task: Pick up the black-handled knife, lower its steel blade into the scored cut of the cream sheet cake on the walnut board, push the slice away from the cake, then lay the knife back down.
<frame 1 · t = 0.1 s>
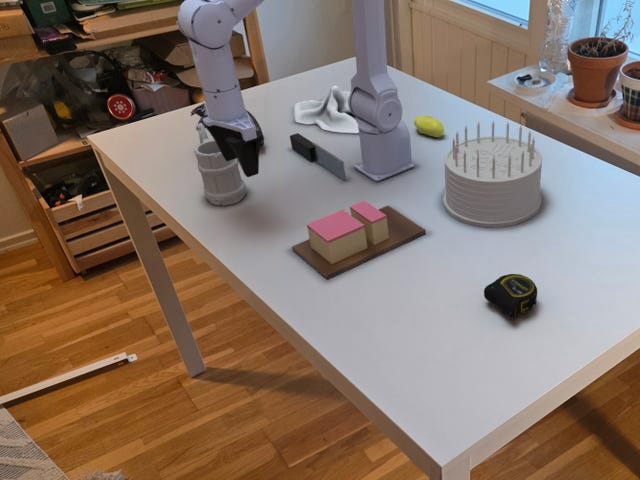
hand: (241, 166, 110), 10 cm above the table, tool pointing down, fingers open, 7 cm apart
decorative flower: (236, 150, 138), on the table
knife: (305, 154, 135), on the table
cloth: (339, 115, 149), on the table
cake slice: (370, 233, 111), point 1 cm above the table, touching board
tape measure: (510, 309, 97), on the table
lemon: (429, 135, 141), on the table
mug: (223, 192, 125), on the table
cake: (339, 247, 108), resting on board
board: (359, 242, 111), on the table
cake 2: (492, 202, 120), on the table
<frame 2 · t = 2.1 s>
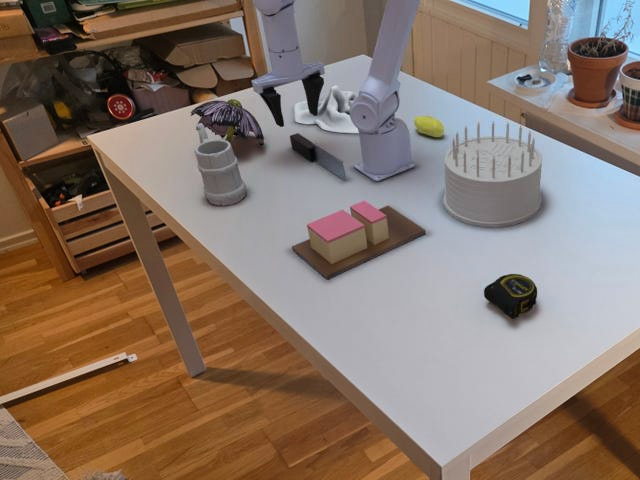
hand: (297, 119, 129), 8 cm above the table, tool pointing down, fingers open, 7 cm apart
nothing on the table moved.
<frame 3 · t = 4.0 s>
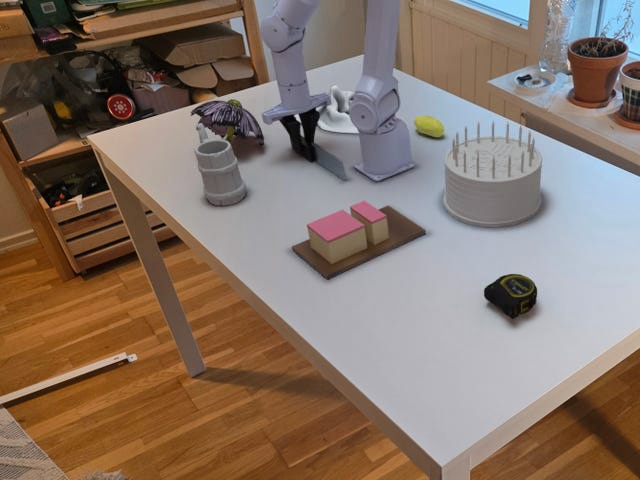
hand: (304, 147, 134), 1 cm above the table, tool pointing down, fingers closed on knife, 2 cm apart
knife: (305, 154, 135), on the table, touching gripper
everything else where it was.
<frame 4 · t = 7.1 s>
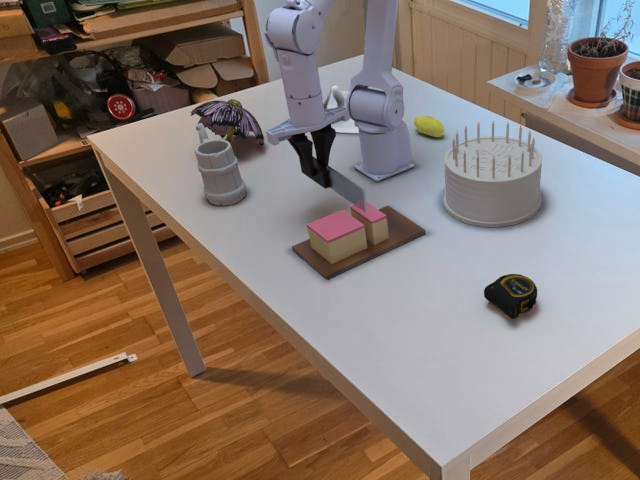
hand: (317, 171, 112), 8 cm above the table, tool pointing down, fingers closed on knife
knife: (318, 178, 113), point 7 cm above the table, touching gripper
everything else where it was.
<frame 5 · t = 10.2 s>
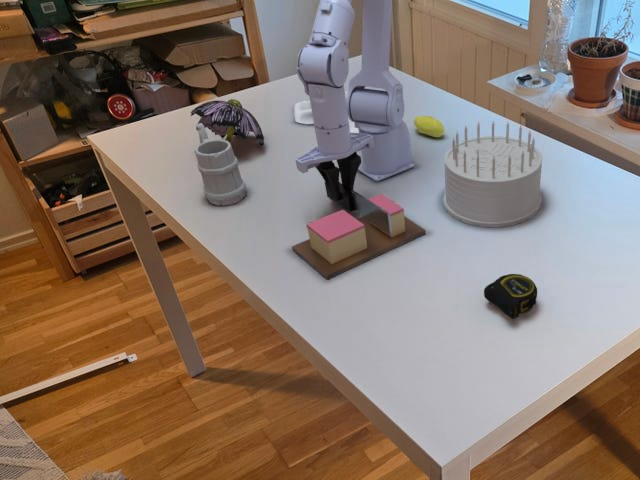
hand: (342, 195, 117), 3 cm above the table, tool pointing down, fingers closed on knife, 2 cm apart
knife: (343, 202, 118), point 1 cm above the table, touching cake slice, gripper
cake slice: (387, 226, 113), point 1 cm above the table, touching board, knife
everything else where it was.
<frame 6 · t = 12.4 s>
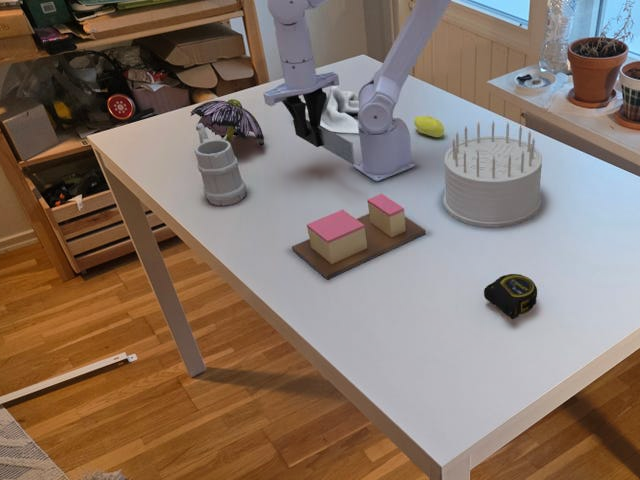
hand: (310, 132, 123), 8 cm above the table, tool pointing down, fingers closed on knife
knife: (310, 139, 124), point 7 cm above the table, touching gripper
cake slice: (387, 226, 113), point 1 cm above the table, touching board
everything else where it was.
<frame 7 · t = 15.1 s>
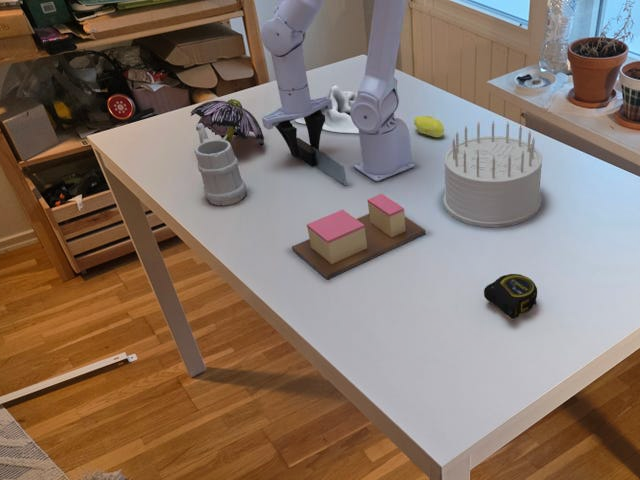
hand: (305, 152, 133), 1 cm above the table, tool pointing down, fingers open, 4 cm apart
knife: (306, 158, 134), on the table
everything else where it was.
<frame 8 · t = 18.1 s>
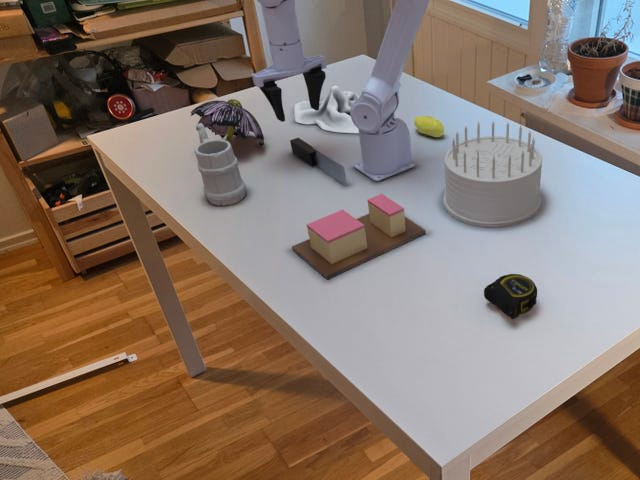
hand: (298, 114, 127), 9 cm above the table, tool pointing down, fingers open, 7 cm apart
nothing on the table moved.
at the end: cake slice 0.7 cm from the target spot on the board, point 0.8 cm above the board's base; cake slice tilted 0°; the gripper is holding nothing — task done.
